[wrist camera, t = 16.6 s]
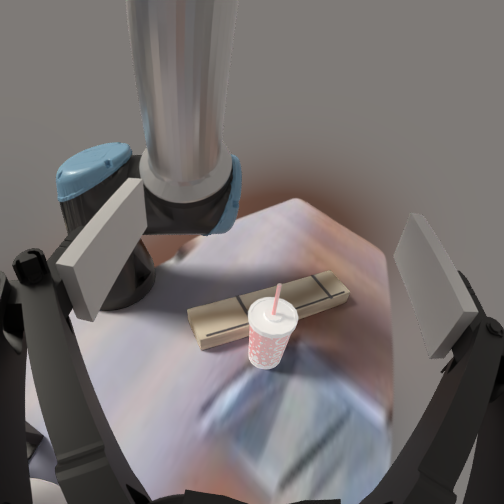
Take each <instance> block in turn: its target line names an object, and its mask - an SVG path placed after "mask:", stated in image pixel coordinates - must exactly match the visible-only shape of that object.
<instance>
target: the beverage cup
mask: <svg viewBox="0 0 504 504" xmlns="http://www.w3.org/2000/svg"><path fill="white" fill-rule="evenodd" d="M281 286H282V284H281V283H278V284H277V289H276V294H275V297H264V298H261V299H258V300H256V301H255V302H254V303H253V304H251V306H250V308H249V311H248V322H249V324H250V327H249V360H250V361H251V363H252V364H253V365H254V366H256V367H257V368H260V369H271V368H274V367H276V366H277V365H278V364H279V362H280V360H281V358H282V355H283V353H284V350H285V348H286V345H287V343H288V340H289V338H290V335H291V333H292V332H293V331H294V330H295V328H296V325H297V322H298V314H297V310H296V309H295V308H294V307H293V305H292V304H290V303H289V302H287V301H286V300H284V299H280V298H279V296H280V291H281Z"/></svg>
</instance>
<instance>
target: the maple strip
mask: <svg viewBox="0 0 504 504" xmlns="http://www.w3.org/2000/svg"><path fill="white" fill-rule="evenodd" d="M276 289H277V286H273V287H270V288H266V289H262V290H259V291H255V292H251V293H248V294H244V295H240V296H239V295H238V296H236V297H233V298H229V299H225V300H221V301H217V302H213V303H210V304H206V305H202V306H198V307H194V308H190V309H187V313H188V321H189V323H190V326H191V328H192V331H193V333H194V335H195V338H196V340H197V342H198V345H199V347H200V349H201V350H204V349H208V348H211V347H215V346H218V345H221V344H225V343H228V342H231V341H235V340H238V339H241V338H244V337H248V336H249V327H250V324H249V322H248V311H249V308H250V306H251V304H253V303H254V302H255V301H256V300H258V299H261V298H264V297H275V294H276ZM349 294H350V291H349V290H348V289H347V288H346V287H345V286H344V285H343V283H342V282H341V281H340V280H339V279H338V278H337V277H336V276H335V275H334V274H333V273H332V272H331V270H329V271H326V272H322V273H319V274H316V275H311V276H309V277H305V278H302V279H298V280H295V281H291V282H288V283H284V284H282V286H281V291H280V296H279V298H280V299H284V300H286V301H287V302H289V303H290V304H292V305H293V307H294V308H295V309H296V310H297V314H298V320H299V319H302V318H305V317H308V316H310V315H313V314H316V313H319V312H321V311H324V310H327V309H330V308H332V307H335V306H338V305H340V304H343V303H346V301H347V299H348V296H349Z"/></svg>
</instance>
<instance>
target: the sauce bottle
mask: <svg viewBox="0 0 504 504" xmlns="http://www.w3.org/2000/svg"><path fill="white" fill-rule="evenodd" d="M30 483H31V490H32V499H33V504H67V502H66V499H65V497H64V495H63V493H62V490H61V488H60V486H59V485H56V484H54V483H52V482H48V481H45V480H41V479H35V478H30Z"/></svg>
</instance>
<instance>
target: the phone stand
mask: <svg viewBox="0 0 504 504" xmlns="http://www.w3.org/2000/svg"><path fill="white" fill-rule="evenodd" d="M25 428H26V445H27V457H28V460H29V459H30V458H31V456H32V455H33V453H34V452H35V450H36V448H37V447H38V445H39V444H40V442H41V441H42V439H43V437H44V436H43V435H42V434H41V433H40V432H39V431H37V430H36V429H35V428H33V427H32V426H31V425H30V424H29V423H27V422H26V421H25Z"/></svg>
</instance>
